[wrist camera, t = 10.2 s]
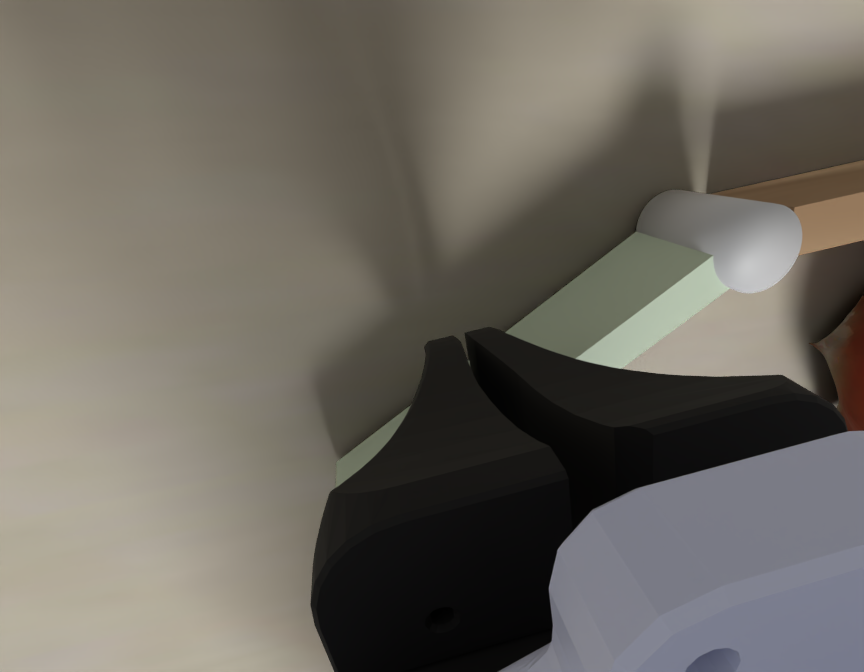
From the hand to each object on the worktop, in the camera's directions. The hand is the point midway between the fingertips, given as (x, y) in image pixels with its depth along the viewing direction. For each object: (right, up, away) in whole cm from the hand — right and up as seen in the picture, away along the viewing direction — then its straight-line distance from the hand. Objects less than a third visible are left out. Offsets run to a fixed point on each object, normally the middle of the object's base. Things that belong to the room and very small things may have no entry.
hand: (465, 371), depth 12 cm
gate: (+2, +1, +3) cm, 3 cm away
